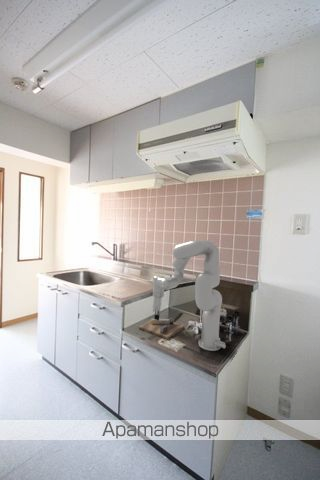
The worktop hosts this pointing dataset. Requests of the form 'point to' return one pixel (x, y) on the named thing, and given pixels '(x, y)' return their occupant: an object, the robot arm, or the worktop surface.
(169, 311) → the worktop surface
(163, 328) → the block
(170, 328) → the lock board
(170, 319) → the bar
